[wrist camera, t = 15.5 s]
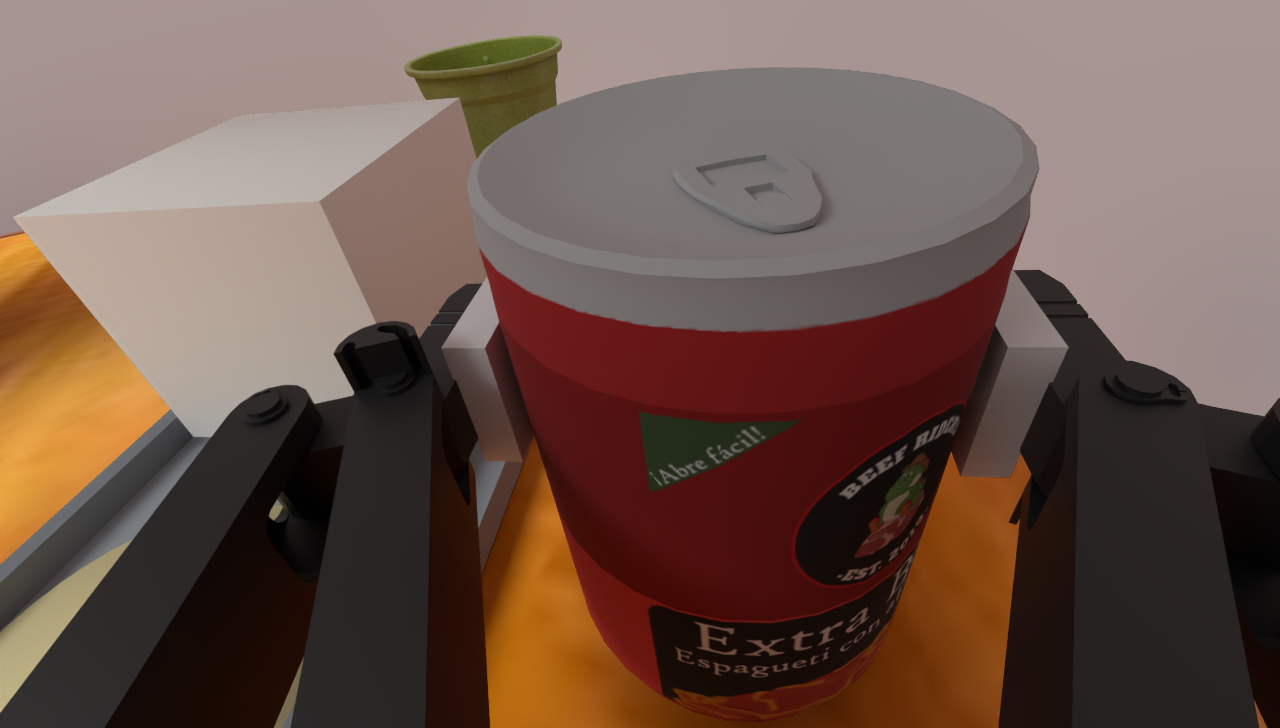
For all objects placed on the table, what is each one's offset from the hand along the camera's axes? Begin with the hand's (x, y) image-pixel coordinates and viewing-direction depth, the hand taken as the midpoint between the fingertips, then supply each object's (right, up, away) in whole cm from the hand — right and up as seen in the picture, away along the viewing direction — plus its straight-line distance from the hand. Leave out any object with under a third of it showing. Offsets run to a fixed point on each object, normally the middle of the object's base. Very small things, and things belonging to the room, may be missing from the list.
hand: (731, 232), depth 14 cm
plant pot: (-11, +8, +26) cm, 29 cm away
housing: (-13, -3, +9) cm, 16 cm away
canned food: (0, -9, +1) cm, 9 cm away
